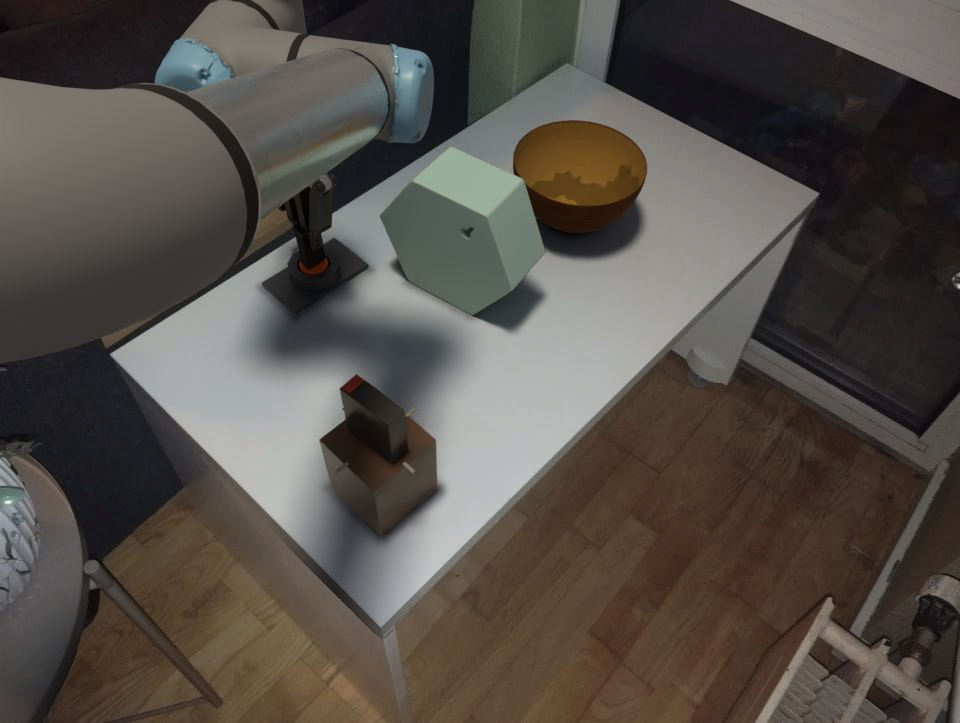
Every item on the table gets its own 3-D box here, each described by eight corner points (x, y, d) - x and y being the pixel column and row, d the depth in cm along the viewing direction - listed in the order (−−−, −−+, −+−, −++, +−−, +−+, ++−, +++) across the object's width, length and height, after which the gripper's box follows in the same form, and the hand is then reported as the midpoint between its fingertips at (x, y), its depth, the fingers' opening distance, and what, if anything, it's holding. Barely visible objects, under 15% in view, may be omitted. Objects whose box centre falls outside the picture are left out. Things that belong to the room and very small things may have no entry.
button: (312, 285, 98) (311, 277, 97) (295, 271, 99) (293, 262, 98) (334, 271, 100) (333, 263, 98) (317, 257, 101) (315, 248, 100)
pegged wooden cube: (380, 552, 78) (372, 506, 70) (316, 488, 82) (302, 438, 74) (452, 488, 82) (452, 439, 74) (388, 430, 86) (382, 378, 78)
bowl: (484, 228, 107) (487, 170, 99) (548, 162, 116) (555, 104, 108) (596, 281, 101) (608, 225, 93) (654, 208, 110) (669, 151, 102)
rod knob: (408, 449, 74) (404, 407, 68) (392, 464, 72) (387, 423, 67) (363, 415, 76) (356, 371, 70) (347, 429, 75) (338, 386, 69)
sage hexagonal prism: (484, 293, 106) (573, 234, 88) (452, 328, 102) (538, 274, 84) (399, 200, 103) (473, 121, 85) (362, 233, 99) (432, 156, 81)
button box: (296, 315, 96) (292, 302, 94) (262, 286, 99) (258, 272, 97) (368, 267, 102) (367, 254, 100) (334, 241, 104) (332, 227, 102)
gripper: (213, 88, 80) (258, 249, 99) (290, 144, 75) (322, 304, 94) (272, 60, 84) (305, 221, 102) (349, 112, 78) (369, 272, 97)
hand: (313, 261), depth 98 cm, fingers closed
